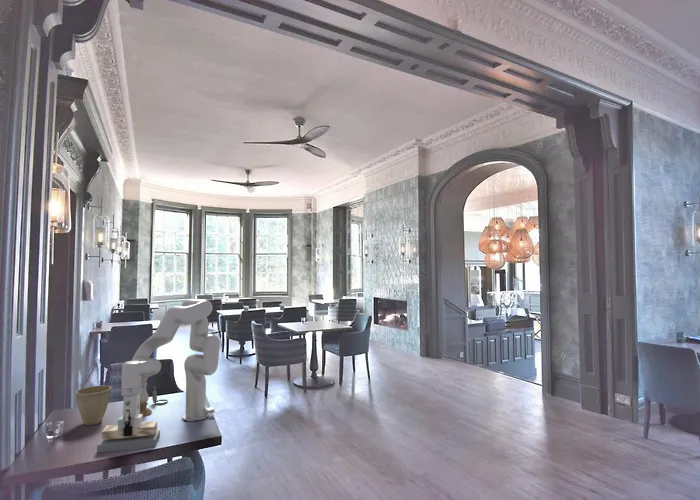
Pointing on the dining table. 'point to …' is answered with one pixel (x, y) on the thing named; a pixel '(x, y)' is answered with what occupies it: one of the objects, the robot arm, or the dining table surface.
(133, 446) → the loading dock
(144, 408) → the candle holder
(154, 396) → the pocket watch
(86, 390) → the plant pot
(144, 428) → the tan piece
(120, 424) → the pale green block
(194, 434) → the dining table surface
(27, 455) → the dining table surface
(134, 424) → the block
